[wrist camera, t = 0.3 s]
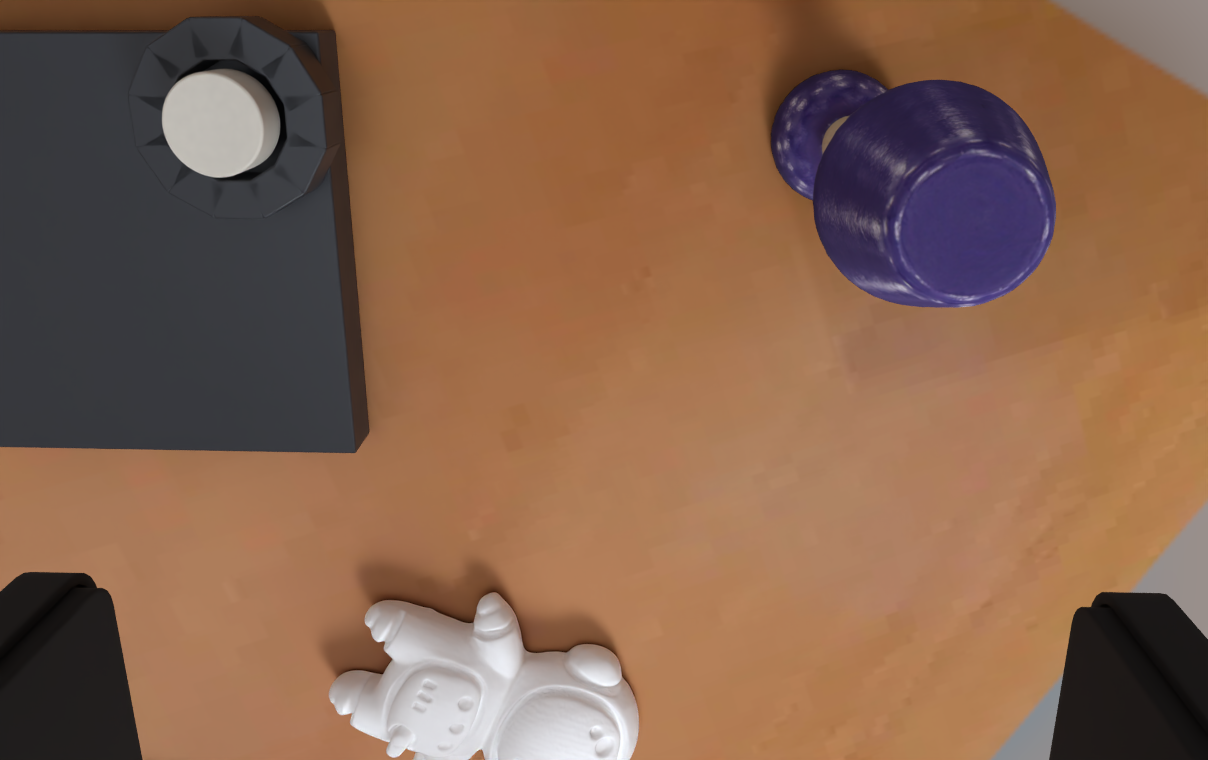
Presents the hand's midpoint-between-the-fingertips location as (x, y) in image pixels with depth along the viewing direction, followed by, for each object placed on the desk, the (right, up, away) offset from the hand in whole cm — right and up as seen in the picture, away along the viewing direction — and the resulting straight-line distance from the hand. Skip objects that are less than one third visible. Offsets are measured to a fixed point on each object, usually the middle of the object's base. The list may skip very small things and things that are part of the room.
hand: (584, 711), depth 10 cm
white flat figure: (-4, -9, +32) cm, 34 cm away
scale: (-15, +8, +26) cm, 31 cm away
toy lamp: (+8, +11, +24) cm, 28 cm away
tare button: (-11, +11, +22) cm, 27 cm away
